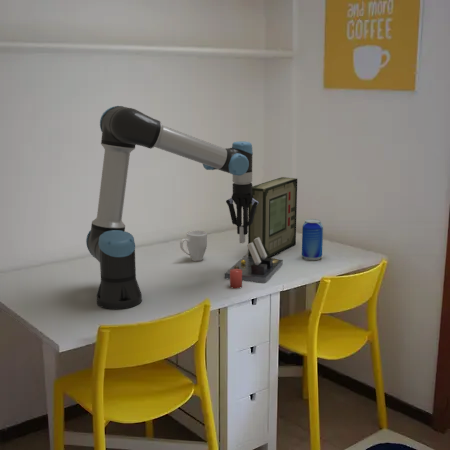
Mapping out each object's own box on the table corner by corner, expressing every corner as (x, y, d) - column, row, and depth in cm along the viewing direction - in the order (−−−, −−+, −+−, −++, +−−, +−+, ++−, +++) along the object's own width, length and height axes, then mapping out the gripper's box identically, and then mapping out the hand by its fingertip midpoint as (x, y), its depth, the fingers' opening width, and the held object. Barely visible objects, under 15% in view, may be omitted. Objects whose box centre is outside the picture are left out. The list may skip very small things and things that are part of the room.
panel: (265, 283, 231) (265, 270, 230) (224, 278, 236) (224, 265, 235) (282, 264, 253) (282, 252, 252) (244, 260, 258) (245, 248, 257)
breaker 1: (259, 264, 234) (250, 243, 233) (255, 266, 235) (246, 245, 234) (261, 262, 237) (252, 242, 236) (258, 263, 237) (249, 243, 237)
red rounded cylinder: (239, 289, 225) (239, 273, 223) (228, 287, 226) (228, 271, 225) (243, 285, 229) (243, 269, 227) (232, 283, 230) (232, 268, 229)
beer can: (300, 260, 259) (301, 222, 255) (302, 254, 266) (303, 217, 263) (321, 261, 257) (322, 223, 253) (322, 255, 265) (324, 218, 261)
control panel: (264, 261, 257) (265, 189, 250) (248, 258, 261) (248, 187, 254) (295, 244, 282) (297, 178, 275) (280, 242, 286) (282, 177, 278)
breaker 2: (265, 258, 241) (257, 238, 241) (262, 260, 242) (253, 240, 241) (267, 256, 244) (259, 236, 243) (264, 258, 244) (255, 238, 244)
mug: (199, 255, 265) (199, 229, 262) (211, 260, 259) (210, 233, 256) (175, 260, 258) (175, 233, 256) (186, 265, 252) (186, 238, 249)
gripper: (261, 181, 240) (261, 241, 246) (229, 180, 245) (230, 238, 250) (255, 185, 233) (255, 246, 239) (222, 183, 238) (223, 243, 244)
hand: (242, 242), depth 245 cm, fingers closed
